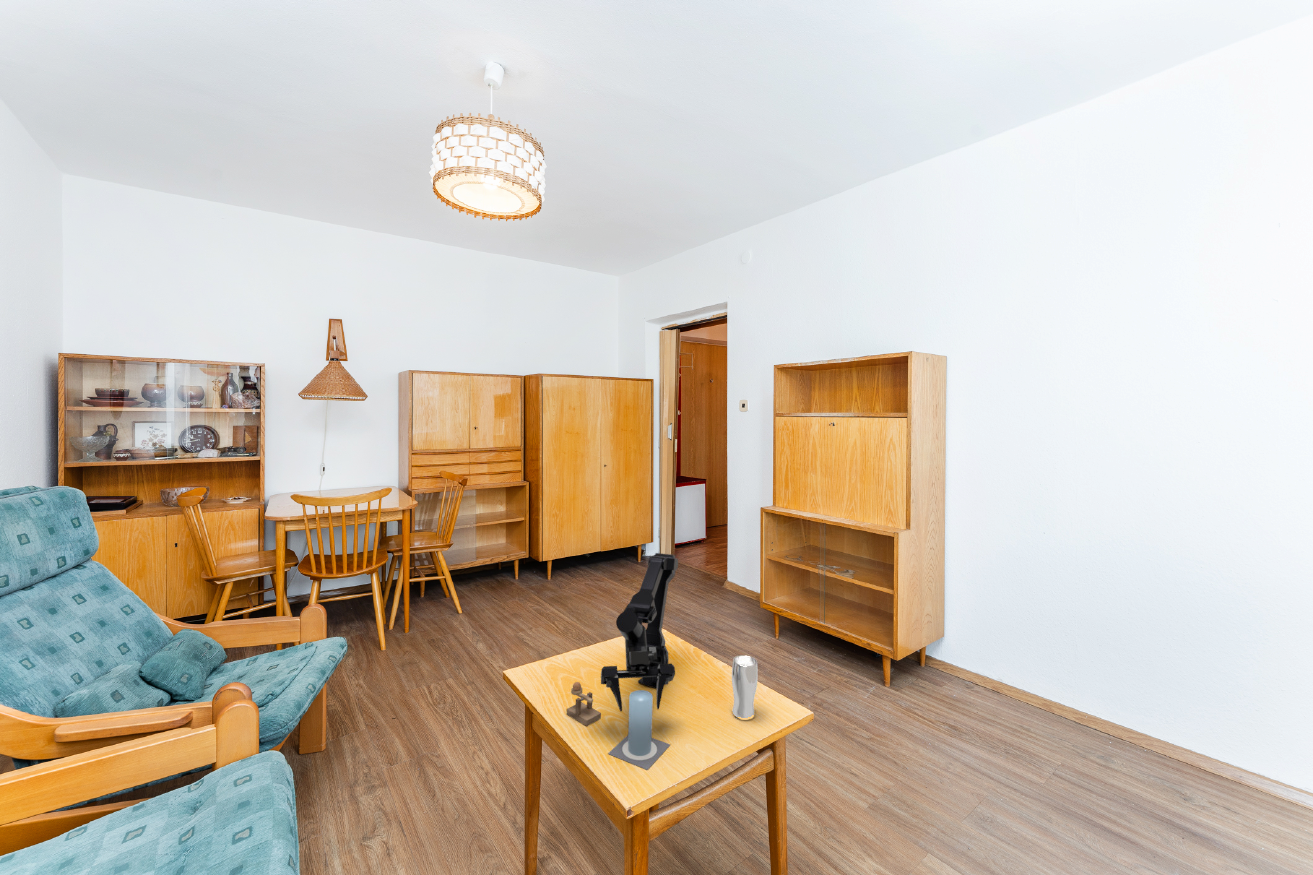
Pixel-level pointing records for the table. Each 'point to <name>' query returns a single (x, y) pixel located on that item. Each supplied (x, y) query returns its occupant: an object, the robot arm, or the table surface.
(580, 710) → the catapult
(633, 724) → the pale blue capsule
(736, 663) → the beer glass
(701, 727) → the table surface
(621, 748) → the pad
